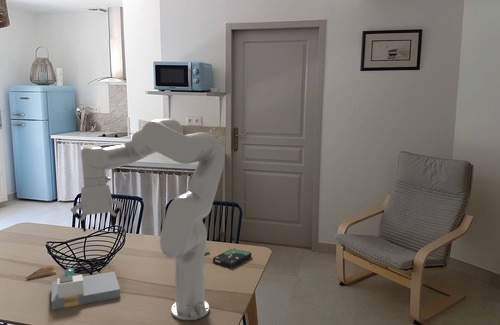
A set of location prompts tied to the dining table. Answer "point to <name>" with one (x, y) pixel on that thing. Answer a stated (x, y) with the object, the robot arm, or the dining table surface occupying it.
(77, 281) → the white rectangular block
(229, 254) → the disk drive
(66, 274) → the green silver cylinder
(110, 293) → the subfloor panel
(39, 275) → the shard
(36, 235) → the dining table surface
